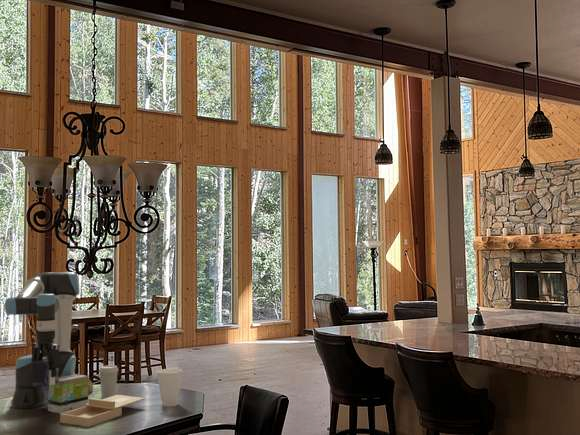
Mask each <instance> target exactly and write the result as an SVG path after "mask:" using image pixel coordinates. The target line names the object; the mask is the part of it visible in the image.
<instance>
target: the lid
mask: <svg viewBox="0 0 580 435" xmlns="http://www.w3.org/2000/svg"><path fill="white" fill-rule="evenodd" d="M144 400H146V397H139V396H131V395H124V394H115V396H111V397H108V398H105V399H104V398H101V399H99V398H94V397H93V398H92V397H90V398H88V404H86V405H87V406H94V407H101V408H108V409H116V408H119V407H122V408H123V407H126V406H128V405H132V404H135V403H137V402H141V401H144Z"/></svg>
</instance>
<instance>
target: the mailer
mask: <svg viewBox="0 0 580 435" xmlns="http://www.w3.org/2000/svg"><path fill="white" fill-rule="evenodd" d="M122 409H123V407H119V408H116V409H108V408H101V407H94V406H85V407H82V408H78V409H75V410H72V411H69V412H65V413H62V414H60V413H59V414H60V416H59V417H60V418H59V419H60V420H59V422H60V423H62V424H69V425H75V426H82V427H92V426H94V425H97V424H100V423H103V422H106V421H109V420H112V419H114V418H118V417H121V416H122V414H123V412H122Z"/></svg>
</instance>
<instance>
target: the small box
mask: <svg viewBox="0 0 580 435" xmlns="http://www.w3.org/2000/svg"><path fill="white" fill-rule="evenodd" d="M49 369H50V365H49V362H48V358H46V359H42V360H39V361H35V362H32V387H42V388H47V387H49ZM55 383H58V368H57V369H56V377H55Z"/></svg>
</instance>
